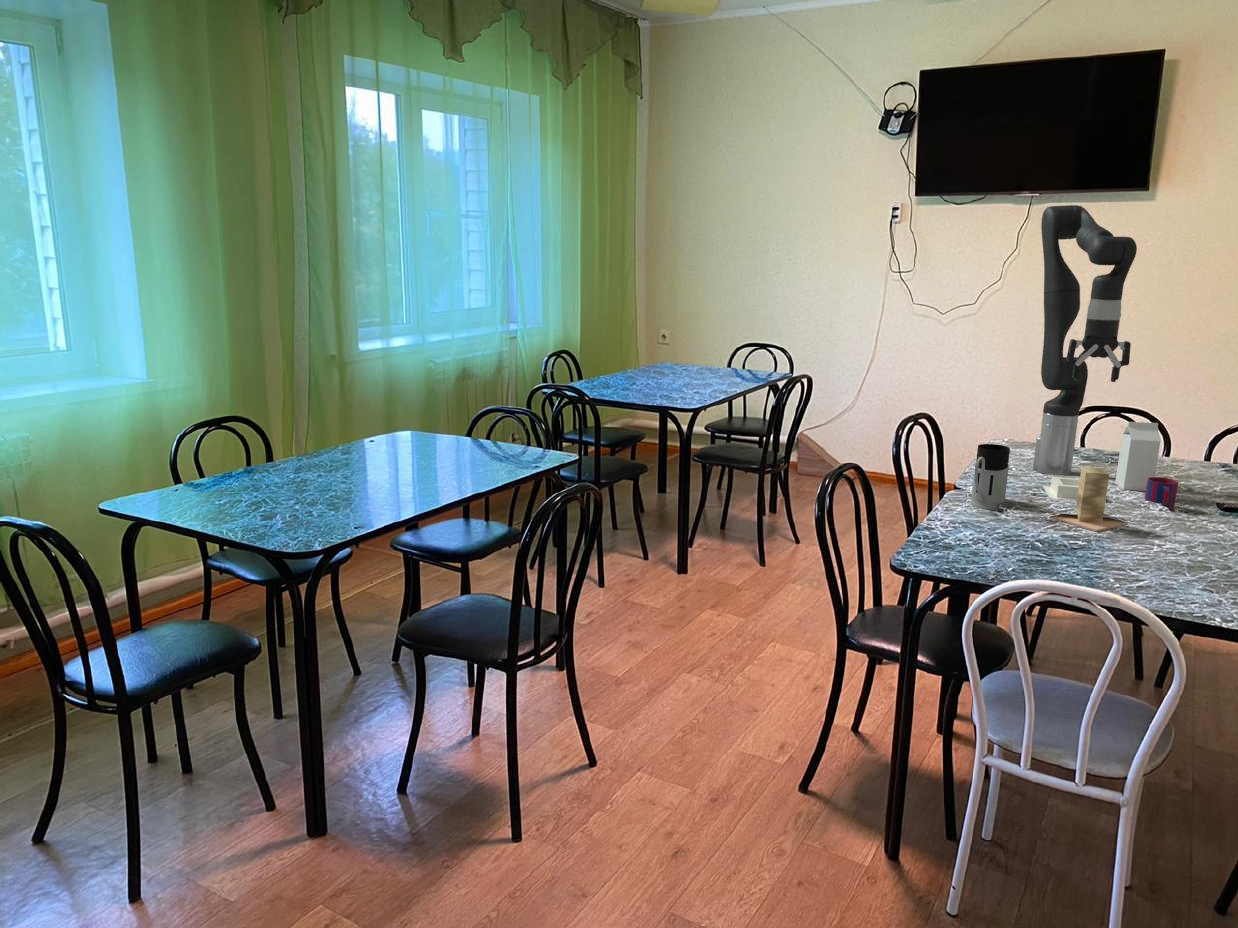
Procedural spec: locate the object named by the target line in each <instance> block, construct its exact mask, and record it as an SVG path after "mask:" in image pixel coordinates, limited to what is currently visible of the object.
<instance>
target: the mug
mask: <svg viewBox="0 0 1238 928" xmlns="http://www.w3.org/2000/svg"><path fill="white" fill-rule="evenodd" d="M1178 487H1179V481H1178V480H1176V479H1172V478H1169V477H1162V476H1155V477H1149V478H1148V481H1147V487H1146V491H1145V495H1144V500H1145V501H1147V502H1150V503H1155V504H1158V505H1161V506H1162V507H1165V508H1167V509H1168V510H1173V509H1174V508H1175V505H1176V501H1177V499H1176V498H1177V494H1178V492H1177V491H1178Z"/></svg>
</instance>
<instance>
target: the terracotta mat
mask: <svg viewBox="0 0 1238 928" xmlns="http://www.w3.org/2000/svg"><path fill="white" fill-rule="evenodd" d="M1075 515H1076V514H1070V513H1060V514H1055V515H1050V519H1051V518H1053V519H1052V520H1055V519H1056V520H1055V521H1058V520H1060V521H1059V522H1061V521H1063V522H1062V523H1065V522H1066V523H1065V524H1068V523H1069V524H1068V525H1071V524H1072V525H1071V526H1076V527H1078V528H1081V527H1082V528H1081V529H1085V530H1088V531H1092V532H1095V531H1099V532H1102V531H1106V530H1112V529H1115V528H1116V529H1117V528H1119V527H1123V526H1128V525H1129V522H1127V521H1124V520H1120V519H1116V518H1114V517H1109V516H1103V522H1102V523H1092V522H1080V521H1079V520H1078V519H1077V518H1076V516H1075Z"/></svg>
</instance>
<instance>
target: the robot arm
mask: <svg viewBox="0 0 1238 928" xmlns="http://www.w3.org/2000/svg"><path fill="white" fill-rule="evenodd" d="M1040 227H1041V228H1040V229H1041V230H1040V231H1041V240H1042V241H1041V242H1042V252H1043V266H1044V267H1043V269H1044V272H1043V275H1044V276H1043V313H1044V314H1043V315H1044V316H1043V319H1044V320H1043V324H1044V325H1043V326H1044V327H1043V345H1042V357H1041V368H1040V375H1041V381H1042V384H1043V386H1044V388H1046V389H1047V390H1049V391H1060V392H1059V393H1058V394H1057V395H1056V396H1055V397H1054V398H1052V399H1049V400H1048V401H1045V402H1044V405H1043V410H1042V417H1041V418H1042V419H1041V427H1040V428H1041V429H1040V435H1039V436H1038V437H1036V440H1035V447H1034V448H1035V449H1034V456H1033V466H1032V470H1035V471H1037V472H1038V473H1040V474H1045V475H1050V476H1069V475H1071V473H1072V468H1073V460H1074V452H1075V444H1076V437H1077V429H1078V423H1079V414H1080V410H1081V408H1082V407H1083V405H1084V404H1083V403H1084V398H1085V394H1086V389H1087V388H1086V387H1087V382H1088V377H1089V376H1088V375H1089V371H1088V370H1089V369H1088V365H1087V363H1086V360H1087V359H1088V358H1089V357H1091V358H1102V359H1106V358H1108V359H1109V360H1110V362H1111V363H1112V365H1113V366H1112V368H1111V375H1110V382H1111V383H1116V381H1118V380H1119V377H1120V371H1121V368H1122V367H1126V366H1129V365H1130V358H1131V355H1130V354H1131V342H1130V341H1128V340H1124V341H1118V336H1119V328H1120V321H1121V317H1122V299H1123V292H1124V284H1125V281H1126V279H1127V277H1128V276H1127V275H1128V274H1129V272H1130V269H1131V267H1132V265H1133V263H1134V260H1135V259H1136V255H1137V251H1138V246H1137V243H1136V241H1135V240H1134V238H1132V237H1131V236H1114V234H1113V233H1112V232H1111V231H1109V230H1107V229H1106V228H1105V227H1103V226H1101V225H1099V224H1098V223H1097V222H1096V220H1095V219H1094V218H1093V216H1092V215H1091V214H1090V213H1089V212H1088V210H1087V209H1086V208H1085V207H1083V206H1081V205H1076V204H1074V205H1073V204H1071V205H1070V204H1069V205H1051V206H1047V207H1045V209H1044V210H1043V212H1042V216H1041V225H1040ZM1073 239H1075V240H1076V244H1077V245H1078V247H1079V248H1080V249H1081V250H1082V251H1083V252H1085V253H1086V254H1087V255H1088V260H1089V261H1090V263H1092V264H1094V265H1097V266H1113V268H1112V269H1111V271H1110V272H1109V273H1106V274H1101V275H1100V274H1099V275H1096V276H1095V277H1094V278H1093V279H1092V284H1091V291H1090V292H1091V293H1090V299H1089V303H1088V307H1087V313H1086V321H1085V329H1084V334H1083V335H1084V337H1083V339H1082V340H1080V339H1077V340H1076V339H1073V338H1072V339H1070V340H1069V345H1068V349H1067V353H1066V357H1065V356H1064V346H1065V345H1064V344H1065V341H1066V336H1067V334H1068V333H1069V331H1070V329H1071V327H1072V325H1073V324H1074V323H1075V320H1076V318H1077V317H1078V315H1079V312H1080V308H1081V285H1080V282H1079V280H1078V279H1077V277H1076V275H1075V274H1074V273H1073V271H1072V270H1071V268H1070V267H1069V265H1068V264H1067V263H1066V261H1065V258H1064V257H1063V254H1062V252H1061V249H1060V243H1059V240H1060V241H1061V240H1073ZM1080 346H1082V348H1083V351H1082V352H1081V353H1080V354H1079V355H1078V356H1075V353H1076V349H1078V348H1079V347H1080ZM1118 347H1119V349H1120V350H1121V351H1122V353H1121V360H1119V359H1118V357H1117V356H1116V354H1115V353H1114V351H1116V349H1117V348H1118Z"/></svg>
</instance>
